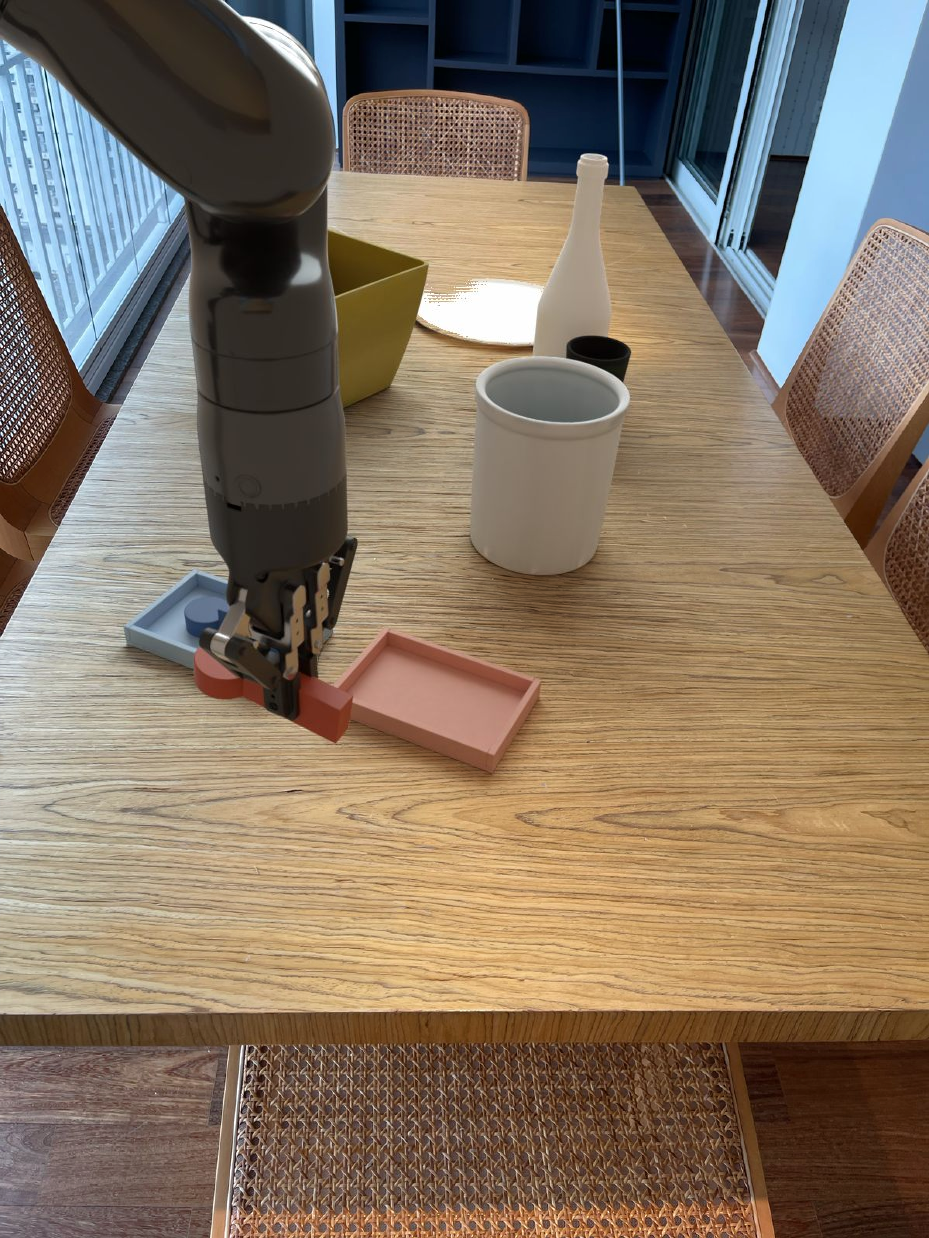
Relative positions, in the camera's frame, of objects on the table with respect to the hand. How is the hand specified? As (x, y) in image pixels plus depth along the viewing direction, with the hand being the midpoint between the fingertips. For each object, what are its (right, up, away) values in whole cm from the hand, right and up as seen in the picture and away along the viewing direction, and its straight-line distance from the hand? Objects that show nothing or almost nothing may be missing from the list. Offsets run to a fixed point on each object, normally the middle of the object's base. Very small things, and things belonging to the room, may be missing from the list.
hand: (292, 704), depth 63 cm
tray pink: (+8, -2, +22) cm, 23 cm away
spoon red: (-2, 0, +1) cm, 2 cm away
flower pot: (-7, +36, +70) cm, 79 cm away
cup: (+26, +28, +62) cm, 73 cm away
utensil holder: (+18, +14, +43) cm, 49 cm away
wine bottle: (+24, +36, +73) cm, 85 cm away
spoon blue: (-9, +4, +27) cm, 29 cm away
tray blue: (-10, +4, +27) cm, 29 cm away
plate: (+16, +53, +94) cm, 110 cm away
